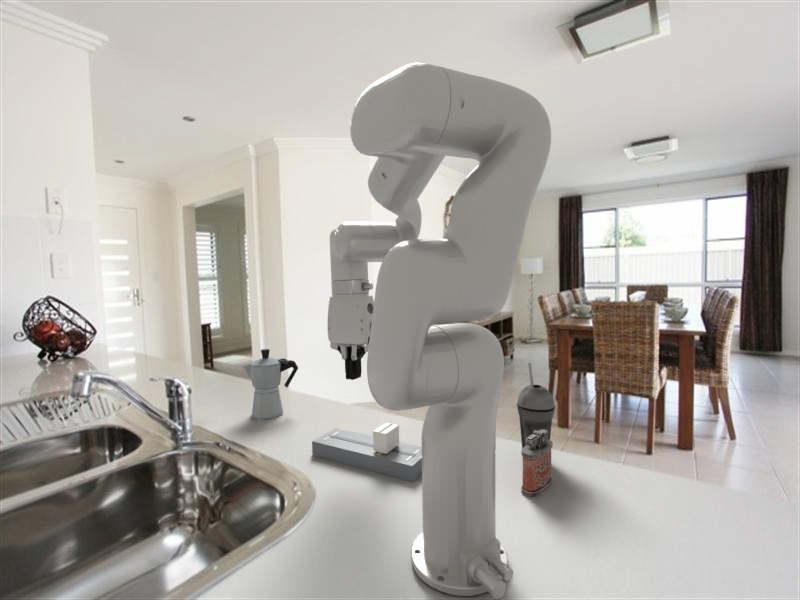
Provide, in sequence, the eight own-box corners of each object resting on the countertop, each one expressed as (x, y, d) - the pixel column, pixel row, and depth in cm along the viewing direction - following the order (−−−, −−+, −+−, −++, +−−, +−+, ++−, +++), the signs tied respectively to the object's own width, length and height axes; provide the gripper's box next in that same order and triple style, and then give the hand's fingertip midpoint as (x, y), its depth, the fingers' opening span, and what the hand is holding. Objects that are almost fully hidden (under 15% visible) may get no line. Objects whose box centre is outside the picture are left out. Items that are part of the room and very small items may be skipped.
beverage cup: (557, 472, 78) (558, 368, 76) (517, 469, 79) (518, 367, 78) (551, 455, 85) (552, 359, 83) (515, 452, 86) (515, 358, 85)
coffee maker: (240, 422, 107) (237, 353, 106) (245, 411, 115) (242, 347, 114) (299, 416, 110) (297, 350, 109) (299, 406, 119) (297, 344, 118)
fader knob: (399, 444, 84) (398, 424, 83) (386, 453, 79) (386, 433, 79) (386, 441, 85) (386, 422, 85) (373, 450, 81) (373, 430, 80)
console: (431, 463, 82) (431, 448, 82) (412, 481, 75) (412, 465, 75) (336, 441, 94) (335, 427, 94) (312, 454, 87) (311, 440, 87)
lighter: (538, 475, 76) (539, 423, 76) (556, 482, 74) (557, 428, 73) (516, 492, 71) (516, 436, 70) (535, 500, 68) (535, 441, 68)
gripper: (390, 288, 83) (394, 377, 84) (333, 289, 91) (336, 371, 92) (370, 289, 77) (374, 385, 78) (309, 290, 84) (313, 379, 85)
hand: (353, 378), depth 85 cm, fingers closed
